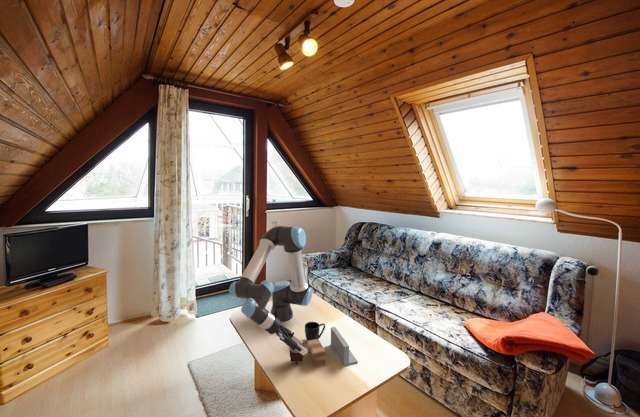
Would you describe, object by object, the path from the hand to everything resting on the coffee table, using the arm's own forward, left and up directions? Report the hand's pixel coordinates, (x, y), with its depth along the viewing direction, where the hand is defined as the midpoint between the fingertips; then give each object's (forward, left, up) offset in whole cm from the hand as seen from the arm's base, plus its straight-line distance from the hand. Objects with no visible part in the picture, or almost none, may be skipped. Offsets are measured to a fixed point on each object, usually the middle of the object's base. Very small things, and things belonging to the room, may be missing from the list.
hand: (302, 348), depth 144 cm
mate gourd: (0, -4, -6) cm, 7 cm away
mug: (-16, +11, -7) cm, 21 cm away
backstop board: (0, +22, -7) cm, 23 cm away
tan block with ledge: (0, +7, -7) cm, 10 cm away
